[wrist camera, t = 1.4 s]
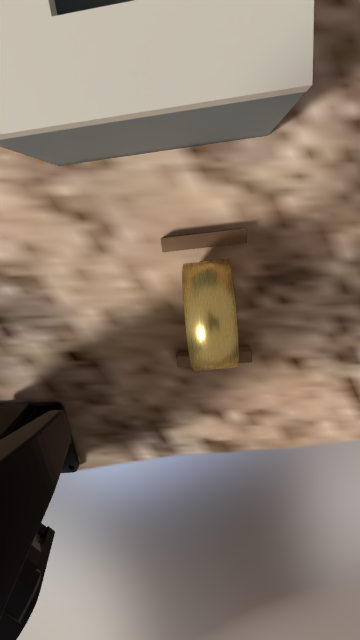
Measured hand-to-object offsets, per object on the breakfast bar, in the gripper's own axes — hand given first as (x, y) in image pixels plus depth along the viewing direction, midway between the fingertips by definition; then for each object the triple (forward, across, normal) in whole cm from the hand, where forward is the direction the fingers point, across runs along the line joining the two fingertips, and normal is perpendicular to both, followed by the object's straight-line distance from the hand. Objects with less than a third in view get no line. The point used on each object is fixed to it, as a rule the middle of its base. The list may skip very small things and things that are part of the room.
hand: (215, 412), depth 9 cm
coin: (+12, 0, 0) cm, 12 cm away
